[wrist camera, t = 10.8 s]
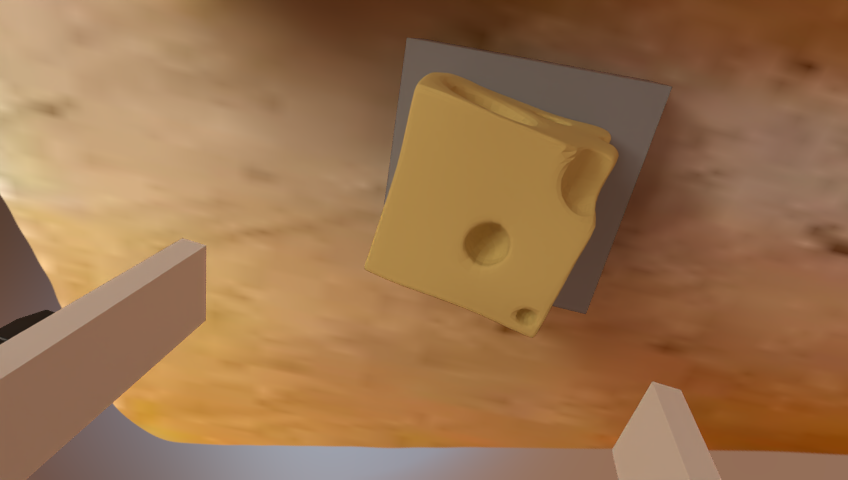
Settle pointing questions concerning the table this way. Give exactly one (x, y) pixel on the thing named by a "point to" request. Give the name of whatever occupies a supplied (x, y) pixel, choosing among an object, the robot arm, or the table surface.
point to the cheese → (489, 201)
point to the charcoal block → (563, 96)
